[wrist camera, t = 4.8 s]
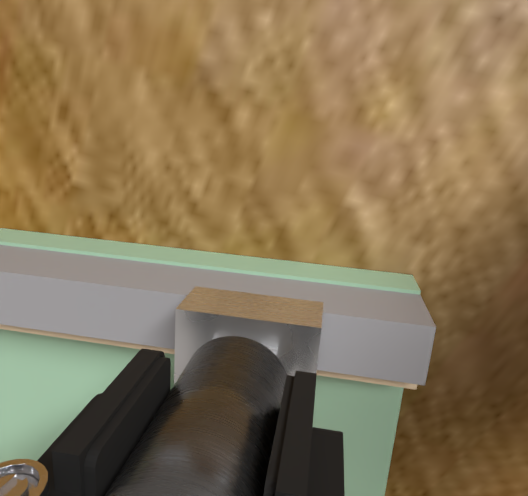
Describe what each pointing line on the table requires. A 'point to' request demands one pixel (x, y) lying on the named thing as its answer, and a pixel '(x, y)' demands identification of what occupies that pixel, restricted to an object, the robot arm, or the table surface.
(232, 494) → the black handled slider
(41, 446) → the pitch
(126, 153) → the table surface
